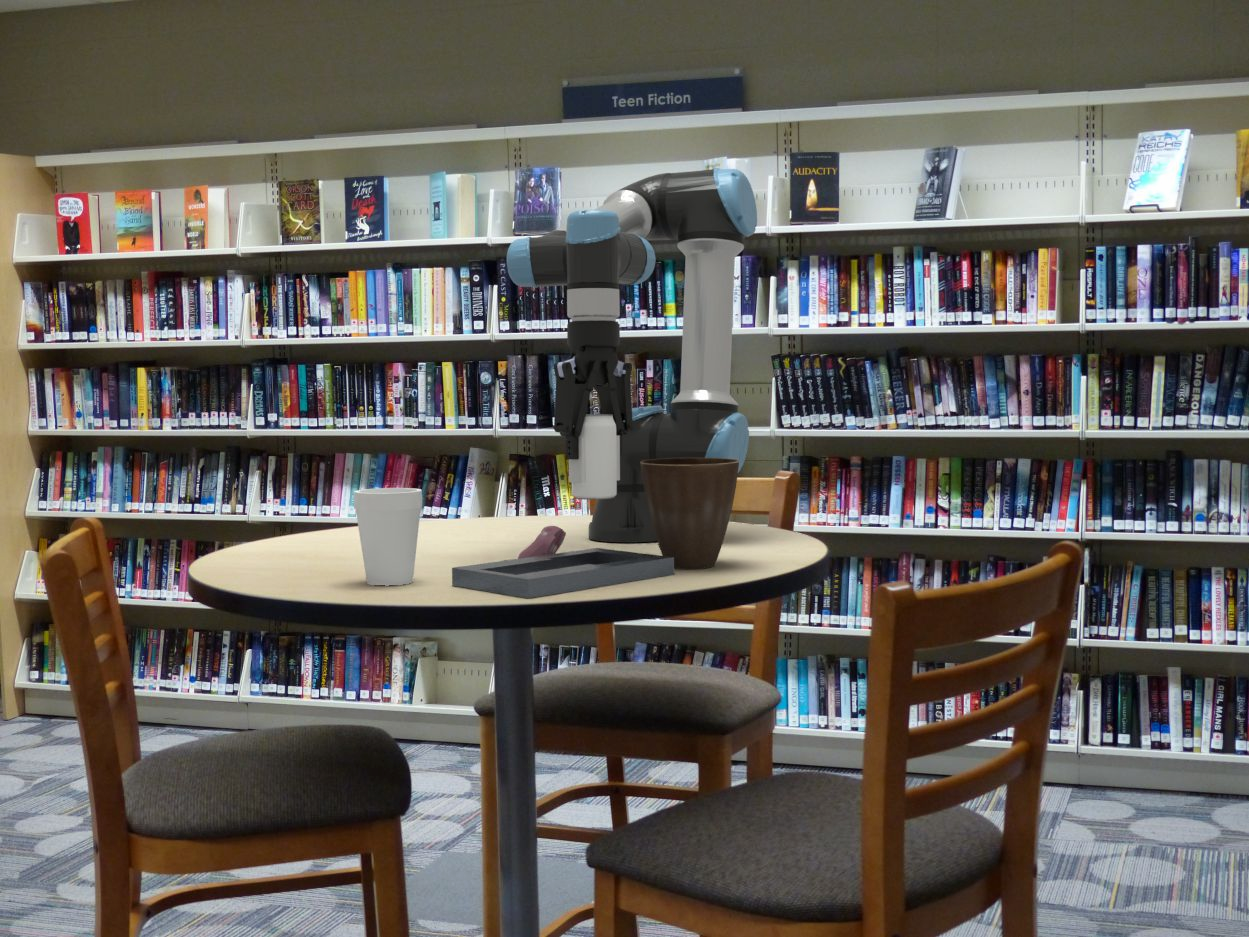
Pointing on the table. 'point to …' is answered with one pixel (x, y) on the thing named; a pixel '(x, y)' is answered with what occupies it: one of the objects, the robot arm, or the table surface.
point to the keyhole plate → (561, 572)
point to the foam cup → (388, 533)
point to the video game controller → (545, 542)
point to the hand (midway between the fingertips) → (594, 481)
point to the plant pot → (690, 506)
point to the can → (598, 458)
